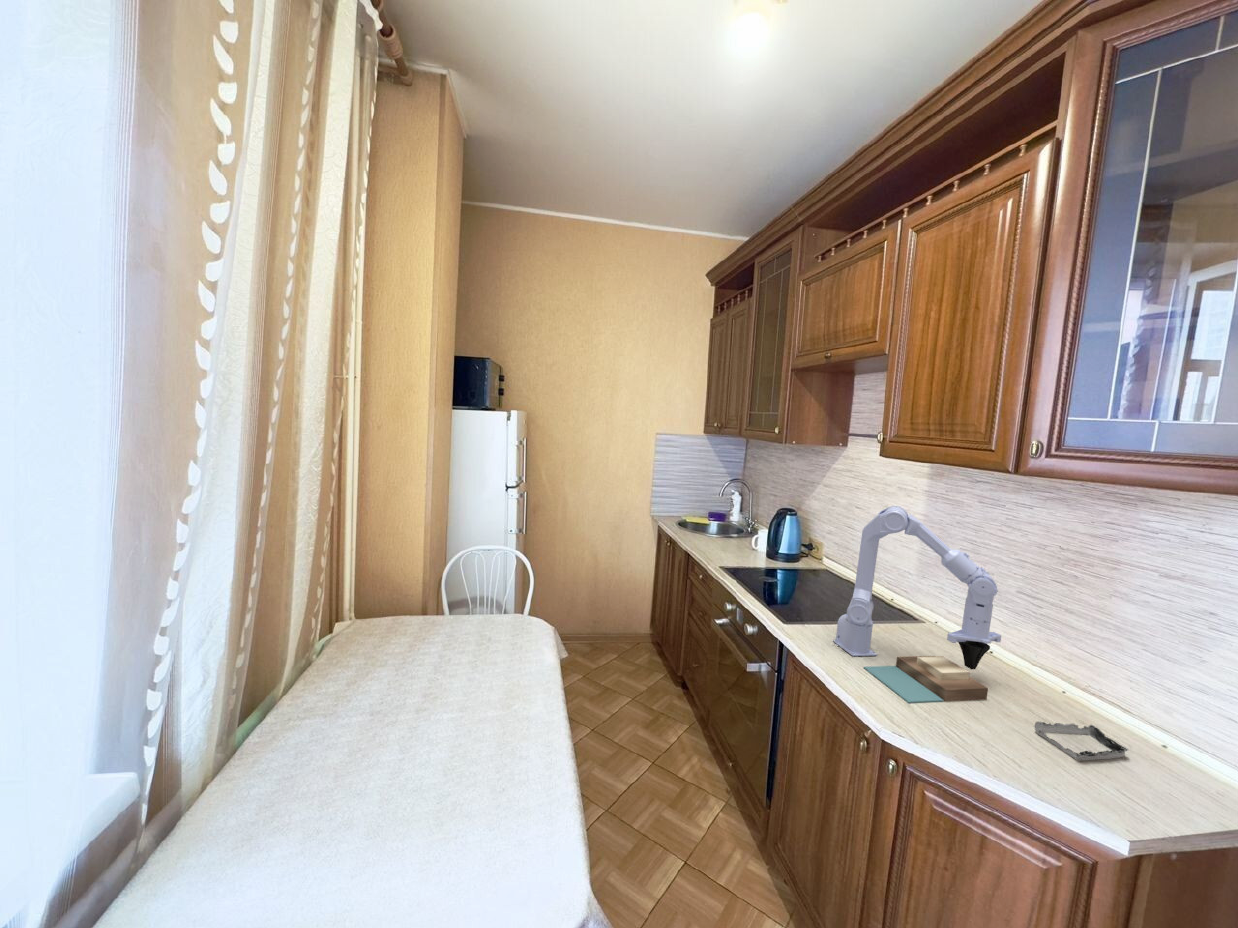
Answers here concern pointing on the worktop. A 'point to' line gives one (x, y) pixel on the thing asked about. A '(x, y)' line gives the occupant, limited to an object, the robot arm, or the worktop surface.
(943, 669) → the cream square slab
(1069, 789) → the worktop surface
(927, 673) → the walnut board
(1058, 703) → the worktop surface
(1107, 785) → the worktop surface
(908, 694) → the rubber mat
